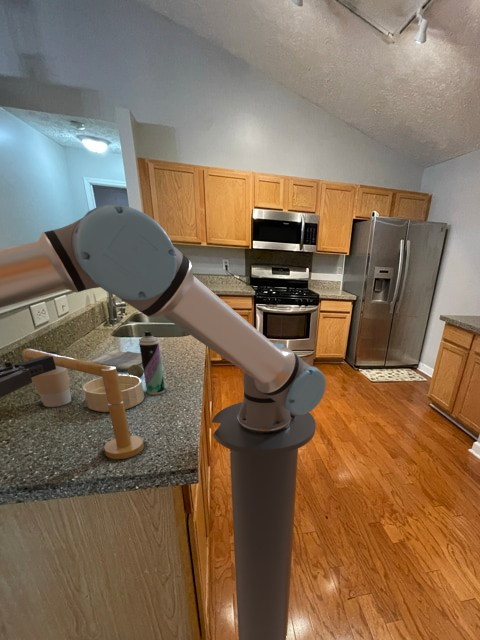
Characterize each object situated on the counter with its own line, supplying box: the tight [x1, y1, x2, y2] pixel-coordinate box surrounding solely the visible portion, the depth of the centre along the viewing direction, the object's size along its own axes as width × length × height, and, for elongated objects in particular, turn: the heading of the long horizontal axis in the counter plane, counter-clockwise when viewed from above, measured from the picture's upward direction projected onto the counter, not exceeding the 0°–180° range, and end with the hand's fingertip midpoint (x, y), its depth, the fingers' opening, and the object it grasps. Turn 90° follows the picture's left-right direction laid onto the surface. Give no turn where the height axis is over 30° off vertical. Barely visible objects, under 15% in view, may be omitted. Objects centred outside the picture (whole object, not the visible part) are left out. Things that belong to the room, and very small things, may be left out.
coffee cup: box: [31, 350, 72, 408], centre depth 91 cm, size 9×9×15 cm
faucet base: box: [103, 401, 145, 460], centre depth 71 cm, size 8×8×12 cm
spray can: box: [138, 330, 166, 396], centre depth 101 cm, size 6×6×20 cm
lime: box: [127, 365, 144, 379], centre depth 114 cm, size 4×5×5 cm
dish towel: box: [90, 349, 143, 372], centre depth 128 cm, size 19×18×3 cm
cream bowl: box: [82, 374, 145, 413], centre depth 95 cm, size 15×15×6 cm
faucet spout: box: [21, 348, 123, 404], centre depth 71 cm, size 29×3×8 cm, turn 68°
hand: (51, 362), depth 65 cm, fingers closed
